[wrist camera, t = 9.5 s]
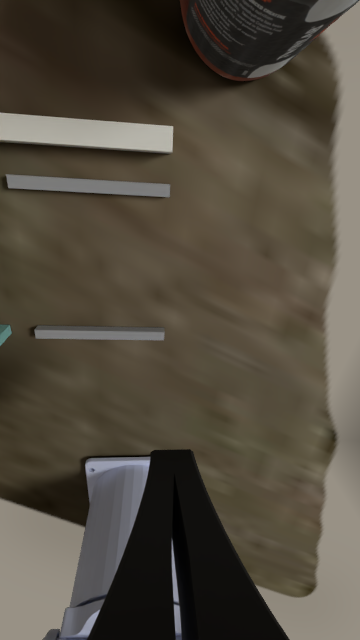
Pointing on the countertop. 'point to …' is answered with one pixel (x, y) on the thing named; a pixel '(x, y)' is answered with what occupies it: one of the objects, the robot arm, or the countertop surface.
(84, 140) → the back strip
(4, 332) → the socket
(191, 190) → the countertop surface
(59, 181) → the rails
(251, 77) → the supplement bottle
